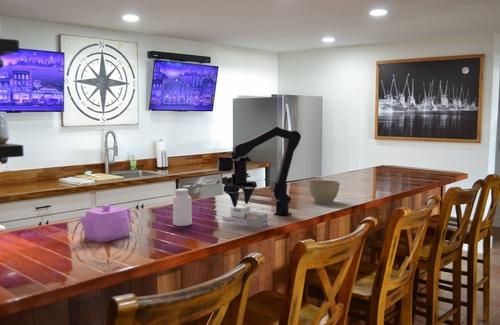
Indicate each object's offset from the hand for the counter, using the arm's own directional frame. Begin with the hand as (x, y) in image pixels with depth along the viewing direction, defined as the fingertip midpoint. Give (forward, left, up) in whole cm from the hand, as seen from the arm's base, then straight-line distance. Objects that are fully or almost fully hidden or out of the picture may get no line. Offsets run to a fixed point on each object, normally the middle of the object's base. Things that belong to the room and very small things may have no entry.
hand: (240, 205), depth 222 cm
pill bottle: (+26, -12, -5) cm, 29 cm away
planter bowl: (-53, +17, -5) cm, 56 cm away
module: (0, 0, -5) cm, 5 cm away
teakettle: (+58, -22, -6) cm, 62 cm away
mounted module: (+11, +16, -5) cm, 20 cm away
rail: (+11, +9, -5) cm, 15 cm away
